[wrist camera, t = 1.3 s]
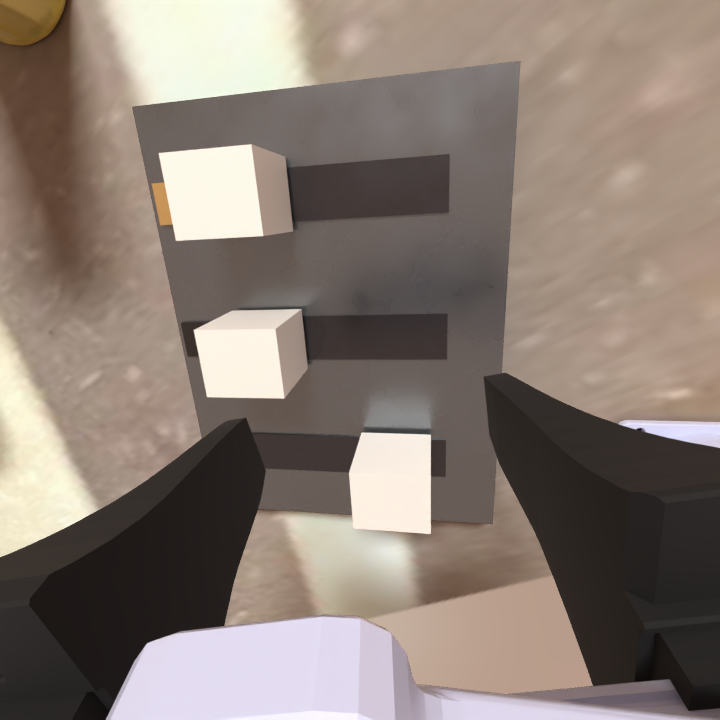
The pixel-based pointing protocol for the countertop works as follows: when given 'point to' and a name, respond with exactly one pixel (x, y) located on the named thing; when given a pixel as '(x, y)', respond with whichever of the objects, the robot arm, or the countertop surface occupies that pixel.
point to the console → (361, 271)
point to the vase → (28, 20)
